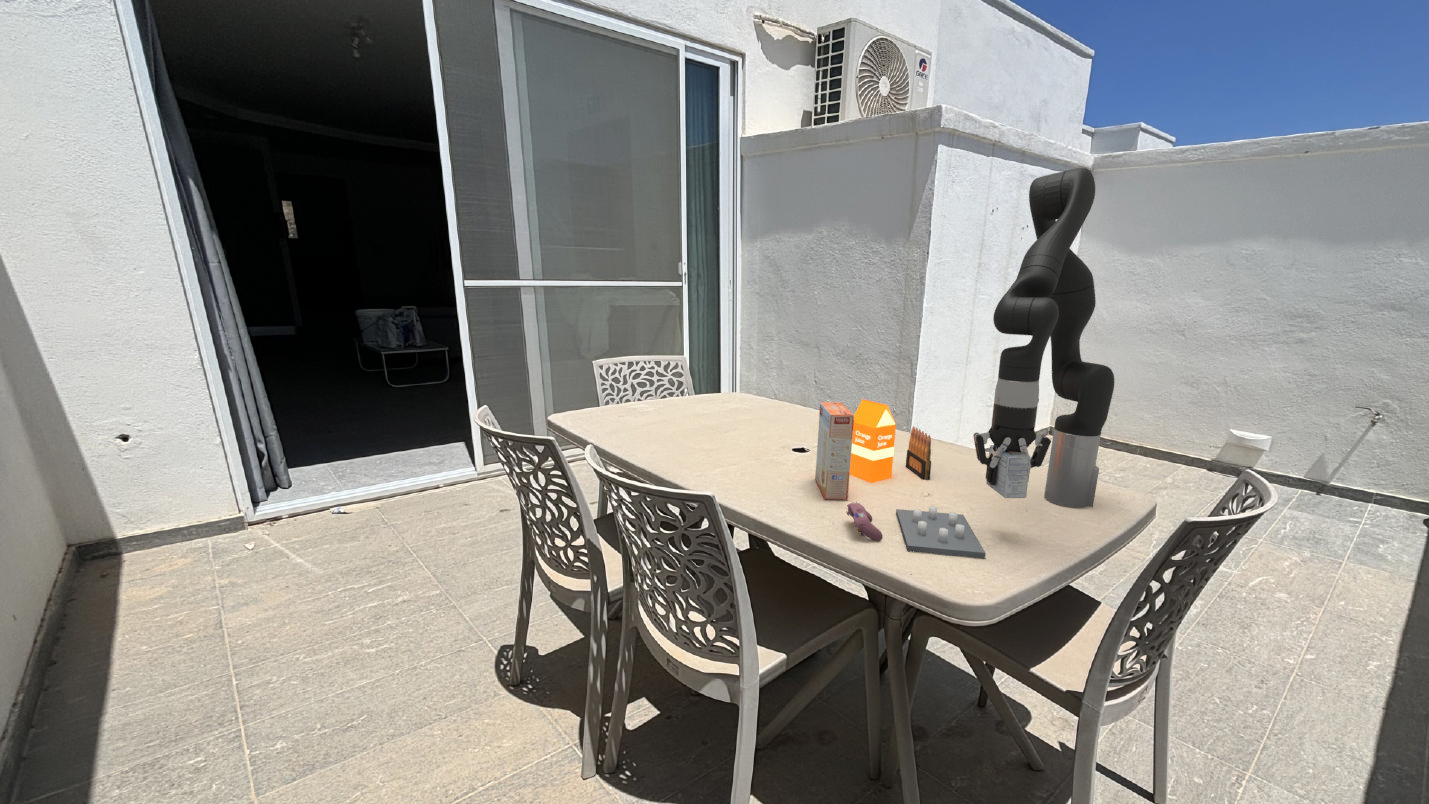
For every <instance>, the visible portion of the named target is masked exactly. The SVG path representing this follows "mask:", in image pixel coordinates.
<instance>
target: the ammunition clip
mask: <svg viewBox="0 0 1429 804" xmlns="http://www.w3.org/2000/svg"><path fill="white" fill-rule="evenodd" d="M909 436H910V437H909V441H908V449H907V450H906V458H905V468H906V469H907V470H909V471H910V472H912V473H913V474H915V475H916V476H917V477H918V478H920V479H921V480H922V481H930V480H931V473H932V472H931V470H932V469H931V468H932V460H931V456H932V449H931V448H932V445H931V444H932V437H931V435H930V434H928V433H927V432H924V431H923V430H922V431H921V429H918V427H915V425H913V426H912V427H911V431H910V435H909Z"/></svg>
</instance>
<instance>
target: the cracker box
mask: <svg viewBox="0 0 1429 804" xmlns="http://www.w3.org/2000/svg"><path fill="white" fill-rule="evenodd" d="M818 414H819V415H818V429H817V430H818V432H817V445H816V446H817V447H816V448H817V449H816V459H815V460H816V462H815V476H814V480H815V482H816V484H817V486H818V488H819V490H820V492H821V495H822V497H823V499H824V500H835V501H836V500H837V501H839V500H842V501H848V499H849V487H850V486H849V485H850V483H849V482H850V476H851V475H850V463H851V450H852V437H853V425H854V414H853V413H852V411H850V410H849V408H848V407H847V406H845V404H844V403H843V402H839V401H838V402H837V401H821V402H820V403H819V413H818Z"/></svg>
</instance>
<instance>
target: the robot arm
mask: <svg viewBox="0 0 1429 804" xmlns="http://www.w3.org/2000/svg"><path fill="white" fill-rule="evenodd" d="M1029 186H1030V187H1029V191H1028V201H1029V210H1030V214H1031V219H1032V225H1033V229H1034V232H1035V236H1036V237H1035V238H1036V241H1034V242H1033V244H1032V245H1030V246H1029V249H1027V251H1026V252H1025V254H1024V255H1023V256H1024V257H1023V259H1022V261H1021V263H1020V264H1021V265H1020V268H1019V271H1018V274H1017V276H1016V278H1015V280H1014V282H1013V283H1012V285H1011V286H1010V287H1009V288H1008V290H1007V291H1006V292H1005V293H1004V294H1003V296H1002V297H1001V298H1000V300H999V301H998V303H997V305H996V307H995V309H994V312H993V317H992V318H993V324H994V327H995V329H996V330H997V331H998V332H999V333H1001V334H1005V335H1015V336H1016V335H1018V336H1031V340H1030V341H1029V342H1028V343H1027V344H1025V345H1021V346H1020V345H1019V346H1011V347H1006V348H1004V349H1003V350H1001V353H1000V357H999V366H998V375H997V381H996V384H995V385H996V386H995V389H994V398H993V399H994V400H993V406H992V418H991V426H990V427H989V429H988V431H987V432H982V433H979V432H974V433H973V436H972V437H973V441H974V445H975V446H974V447H975V452H976V459H977V461H978V462H979V463H980V464H981V465H985V466H986V470H985V471H986V473H985V479H986V481H988V482H989V484H990V485H995V482H996V473H997V468H996V465H997V463H998V461H999V459H1000V458H1002V454H1003V453H1004V452H1021V453H1025V454H1027V455H1029V456H1030V453H1029V450H1028V448H1029V447H1030V445H1031V444H1032V443H1033V442H1034V444H1035V449H1034V451H1033V452H1032V456H1030V457H1031V458H1030V468H1029V474H1030V473H1031V472H1030V471H1031V469H1032V468H1039V467H1041V466H1042V464H1043V462H1044V459H1045V457H1046V455H1047V452H1048V450H1049V448H1050V445H1051V448H1050V455H1049V461H1048V468H1047V474H1046V475H1047V476H1046V483H1045V487H1044V496H1043V497H1044V499H1045V500H1046V501H1048V502H1050V503H1052V504H1055V505H1059V506H1062V507H1065V508H1067V507H1068V508H1072V509H1073V508H1074V509H1081V508H1084V507H1085V508H1088V507H1089V508H1092V507H1094V503H1095V496H1096V492H1097V491H1096V490H1097V485H1098V479H1099V473H1100V468H1099V466H1097V461H1098V452H1099V447H1100V442H1101V435H1102V431H1103V428H1104V426H1105V424H1106V422H1107V420H1108V415H1109V411H1110V407H1111V403H1112V398H1113V395H1114V394H1113V393H1114V389H1115V375H1114V372H1113V370H1112V369H1111V367H1109V366H1108V365H1105V364H1101V363H1100V364H1099V363H1095V362H1088V361H1083V360H1082V356H1081V348H1080V347H1081V345H1080V342H1081V341H1080V340H1081V336H1082V334H1083V332H1084V330H1085V329H1086V327H1087V325H1088V323H1089V322H1090V319H1091V317H1092V316H1093V314H1094V311H1095V310H1096V309H1095V308H1096V304H1097V303H1096V302H1097V301H1096V300H1097V299H1096V291H1095V281H1094V276H1093V273H1092V272H1091V270H1090V268H1089V267H1088V266H1087V264H1085V262H1084V261H1083V260H1082V259H1081V258H1080V257H1079V256H1078V255H1077V254H1076V253H1075V252H1074V251H1073V250H1072V249H1071V246H1072V245H1073V243H1074V241H1075V239H1076V238H1077V236H1078V234H1079V232H1080V231H1081V229H1082V227H1083V225H1084V222H1086V219H1087V218H1088V215H1089V213H1090V212H1091V209H1092V206H1093V204H1094V202H1095V196H1096V182H1095V177H1094V174H1093V173H1092V171H1091V170H1090V169H1088V168H1087V167H1078V168H1071V169H1067V170H1062V171H1059V172H1053V173H1050V174H1047V175H1042V176H1039V177H1036V178H1034V179H1033V180H1032V182H1031V184H1030V185H1029ZM1049 340H1050V344H1051V345H1050V347H1051V348H1050V350H1051V383H1052V387H1053V390H1054V392H1055V394H1056V395H1057V396H1058V397H1059V398H1062V399H1064V400H1068V401H1072V402H1076V404H1077V405H1076V407H1075V410H1074V412H1072V413H1069V414H1061V415H1058V416H1057V417H1056V418H1055V422H1054V428H1053V433H1052V441H1051V439H1050V438H1049V437H1047V436H1046V435H1044V434H1043V435H1039V434H1037V433H1036V431H1035V428H1036V419H1037V414H1038V404H1039V401H1040V398H1039V397H1040V376H1041V368H1042V362H1043V356H1044V352H1045V350H1046V347H1047V345H1048V342H1049ZM988 439H990V440H991V442H992V444H993V447H992V448H991V451H990V450H989V451H990V454H989V453H988V457H987V454H986V448H985V447H986V446H985V445H986V444H987V443H988ZM996 449H998V450H997V451H996ZM1029 480H1030V476H1029V477H1028V482H1029Z"/></svg>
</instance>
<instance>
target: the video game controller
mask: <svg viewBox="0 0 1429 804" xmlns="http://www.w3.org/2000/svg"><path fill="white" fill-rule="evenodd" d="M846 507H847V510H846V515H847V516H849V517H850V516H851V517H852V519H853V522H854V525H855V526H856V532H857V534H858V533H860V536H866V537H867V538H868V539H870V540H871V541H875V542H880V541H882V540H883V537H884V535H883V533H882V532H881V530H880V529H879V528H878V527H876V526H875V525H874V524H873V523H872V522H873V516H872V514H871V513H870V512H869V511H867V510H866V508H865V507H864V506H863V504H861V503H859V502H858V501H855V502H851V503H848V504H847V505H846Z"/></svg>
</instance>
